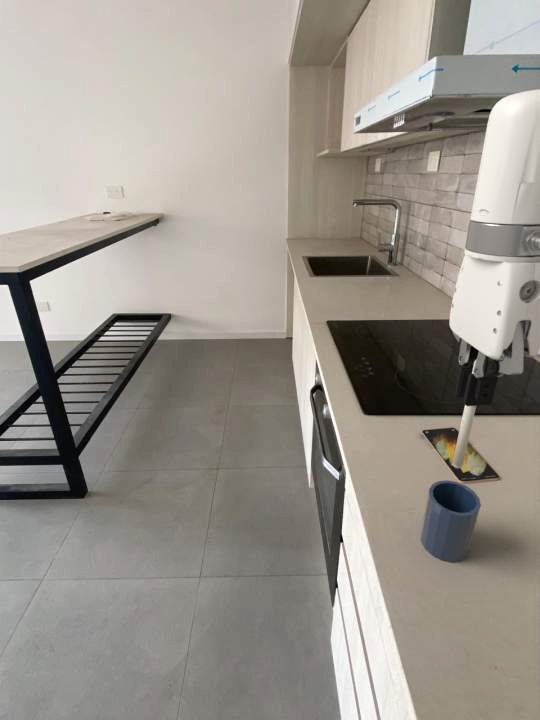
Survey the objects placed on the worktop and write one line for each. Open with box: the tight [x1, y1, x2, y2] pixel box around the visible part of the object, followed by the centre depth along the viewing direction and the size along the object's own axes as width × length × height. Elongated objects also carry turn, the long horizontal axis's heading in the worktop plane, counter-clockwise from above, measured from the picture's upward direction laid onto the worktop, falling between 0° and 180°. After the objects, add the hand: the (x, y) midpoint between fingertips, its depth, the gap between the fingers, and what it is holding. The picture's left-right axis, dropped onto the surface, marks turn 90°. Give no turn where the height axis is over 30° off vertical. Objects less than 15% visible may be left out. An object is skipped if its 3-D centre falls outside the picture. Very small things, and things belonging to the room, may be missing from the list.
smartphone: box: [421, 427, 500, 484], centre depth 73 cm, size 7×1×15 cm
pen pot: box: [420, 479, 482, 563], centre depth 54 cm, size 6×6×9 cm
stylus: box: [453, 359, 477, 469], centre depth 48 cm, size 1×1×16 cm
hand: (472, 399), depth 47 cm, fingers closed on stylus, 1 cm apart
